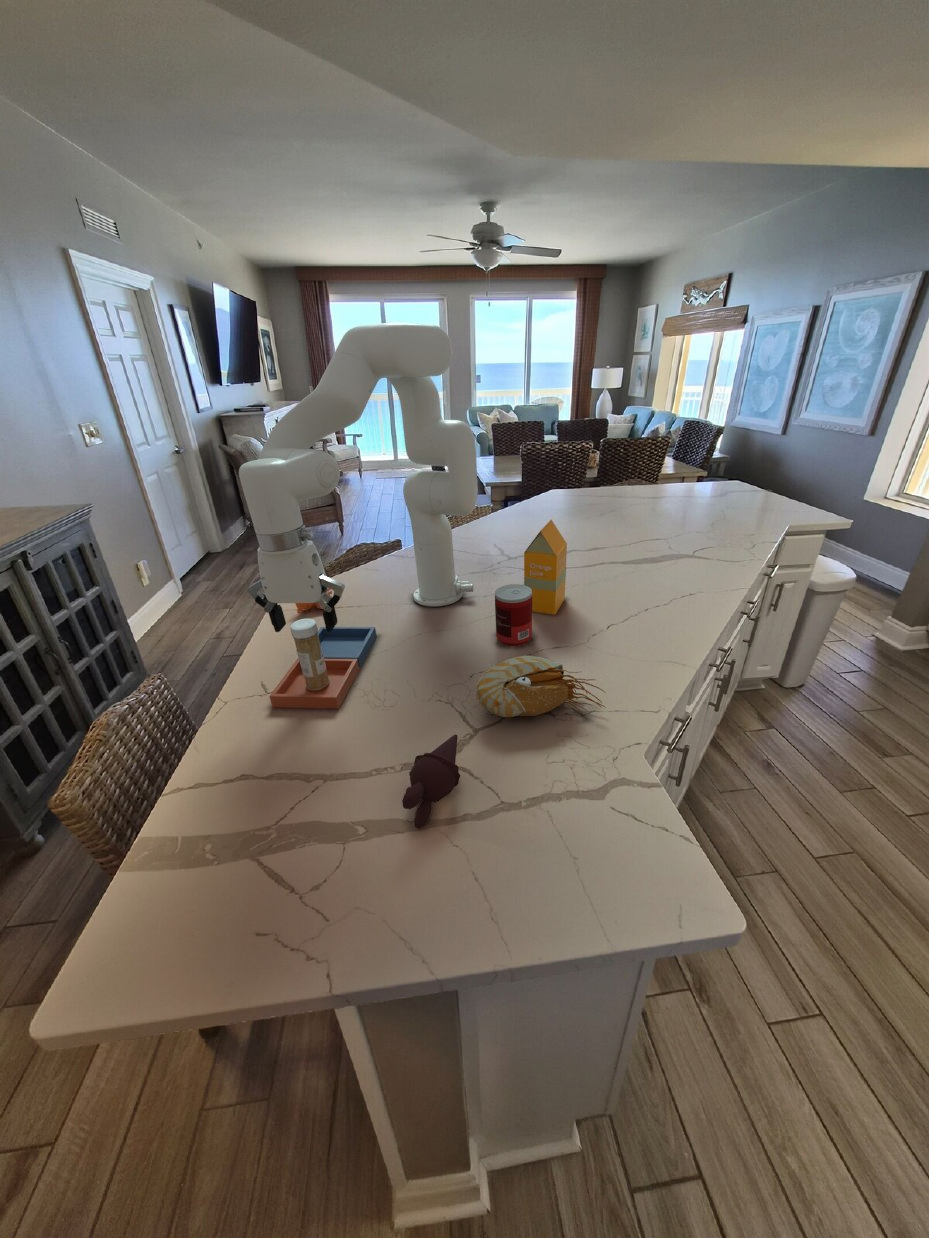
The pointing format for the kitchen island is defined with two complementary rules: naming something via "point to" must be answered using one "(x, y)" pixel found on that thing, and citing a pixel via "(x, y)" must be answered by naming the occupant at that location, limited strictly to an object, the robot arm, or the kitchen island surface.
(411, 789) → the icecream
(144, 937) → the kitchen island surface
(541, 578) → the orange juice
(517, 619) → the canned food
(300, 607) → the orange toy motorcycle
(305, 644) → the sprinkles bottle
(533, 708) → the nautilus
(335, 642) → the slate tray
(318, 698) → the terracotta tray
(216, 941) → the kitchen island surface
